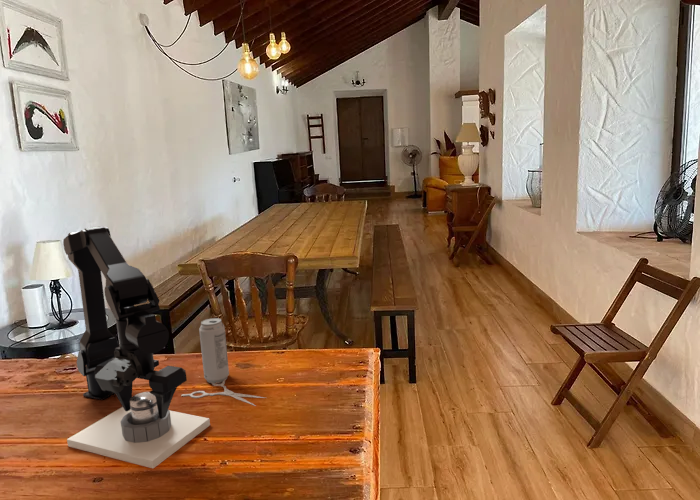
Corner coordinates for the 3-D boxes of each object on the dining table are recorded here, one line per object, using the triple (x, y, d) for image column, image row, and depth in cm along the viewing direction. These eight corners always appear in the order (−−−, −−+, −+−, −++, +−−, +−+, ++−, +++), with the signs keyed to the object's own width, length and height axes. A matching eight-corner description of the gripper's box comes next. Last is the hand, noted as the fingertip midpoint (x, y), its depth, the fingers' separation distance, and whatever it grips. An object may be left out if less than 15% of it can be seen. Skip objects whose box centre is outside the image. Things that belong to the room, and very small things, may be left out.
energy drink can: (214, 372, 137) (208, 316, 134) (234, 375, 134) (228, 318, 131) (199, 382, 131) (193, 324, 128) (219, 385, 129) (214, 326, 126)
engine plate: (68, 446, 105) (64, 425, 104) (130, 408, 119) (128, 389, 119) (153, 468, 96) (150, 445, 95) (210, 425, 110) (207, 404, 110)
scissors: (212, 377, 133) (277, 390, 124) (213, 380, 134) (277, 393, 124) (180, 395, 124) (247, 411, 115) (180, 398, 125) (247, 414, 115)
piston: (127, 434, 106) (123, 401, 104) (147, 421, 110) (143, 389, 109) (147, 438, 103) (143, 405, 102) (166, 425, 108) (162, 393, 107)
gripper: (64, 349, 100) (77, 426, 103) (139, 361, 92) (150, 443, 95) (112, 329, 110) (122, 400, 113) (184, 338, 102) (192, 414, 105)
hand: (145, 414), depth 106 cm, fingers open, 9 cm apart
